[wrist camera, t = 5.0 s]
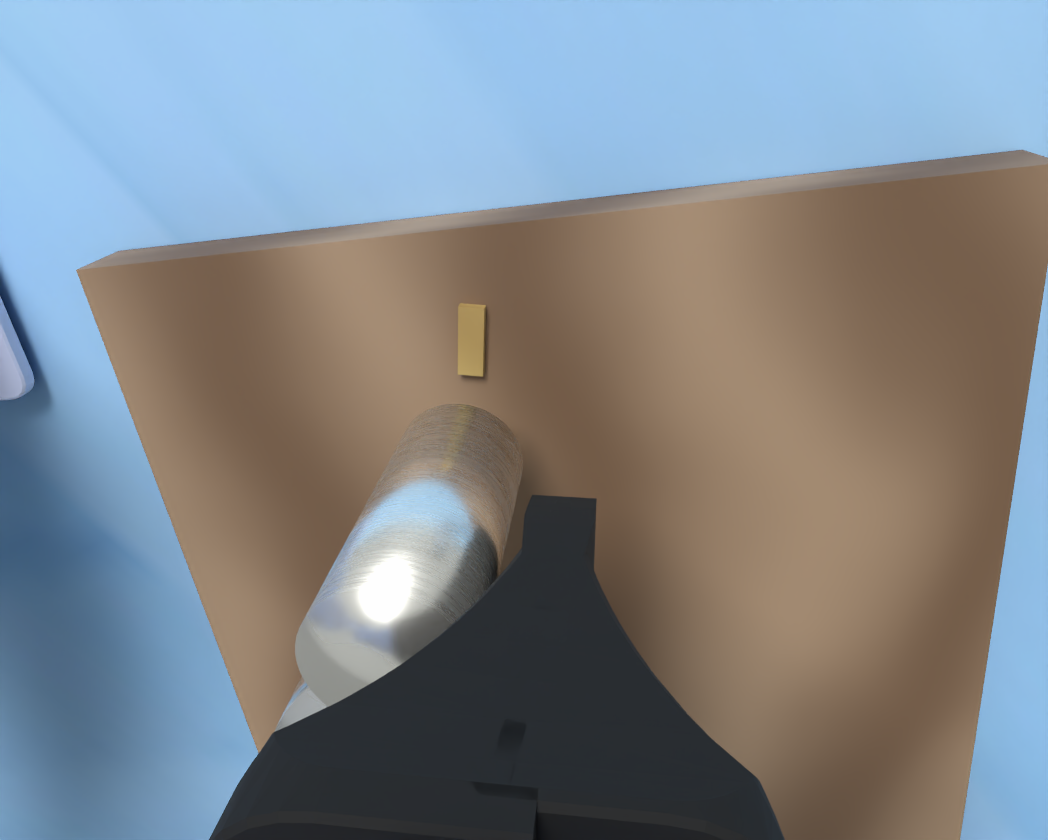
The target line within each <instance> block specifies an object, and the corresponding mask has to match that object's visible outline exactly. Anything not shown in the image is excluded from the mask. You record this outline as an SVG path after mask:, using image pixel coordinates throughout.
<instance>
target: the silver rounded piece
mask: <svg viewBox="0 0 1048 840" xmlns="http://www.w3.org/2000/svg"><path fill="white" fill-rule="evenodd" d="M522 470H523V457H522V452H521V448H520V445H519V443H518V441H517V439H516V437H515V436H514V434H513V433H512V431H511V430H510V429H509V428H508V426H507V425H506V424H505V423H504V422H502V421H501V420H500V419H499V418H497V417H496V416H495V415H493V414H491V413H489V412H488V411H486V410H483V409H481V408H478V407H475V406H471V405H465V404H445V405H440V406H436V407H434V408H431V409H429V410H427V411H425V412H423V413H422V414H420V415H419V416H417V417H416V418H415V419H414V420H413V421H412V422H411V423H410V425H409V426H408V427H407V429H406V431H405V433H404V434H403V436H402V438H401V440H400V442H399V444H398V446H397V447H396V449H395V451H394V453H393V455H392V457H391V459H390V460H389V462H388V464H387V466H386V468H385V470H384V471H383V473H382V475H381V477H380V479H379V481H378V483H377V484H376V486H375V488H374V490H373V492H372V494H371V496H370V497H369V499H368V501H367V503H366V505H365V507H364V509H363V510H362V512H361V514H360V516H359V518H358V520H357V522H356V523H355V525H354V527H353V529H352V531H351V533H350V535H349V536H348V538H347V540H346V542H345V544H344V546H343V547H342V549H341V551H340V553H339V555H338V557H337V559H336V560H335V562H334V564H333V566H332V568H331V570H330V572H329V573H328V575H327V577H326V579H325V581H324V583H323V585H322V586H321V588H320V590H319V592H318V594H317V596H316V598H315V599H314V601H313V603H312V605H311V607H310V609H309V611H308V612H307V614H306V616H305V618H304V620H303V622H302V624H301V625H300V627H299V630H298V633H297V636H296V642H295V656H296V661H297V665H298V668H299V671H300V673H301V675H302V677H301V679H300V680H299V682H298V684H297V686H296V688H295V690H294V692H293V694H292V696H291V698H290V700H289V702H288V704H287V706H286V708H285V710H284V712H283V715H282V717H281V719H280V721H279V723H278V725H277V727H276V729H275V731H277V730H280V729H282V728H284V727H287V726H289V725H291V724H293V723H295V722H297V721H299V720H301V719H303V718H306V717H308V716H310V715H312V714H314V713H316V712H318V711H320V710H322V709H324V708H326V707H329V706H331V705H333V704H335V703H337V702H339V701H340V700H342V699H344V698H346V697H348V696H350V695H352V694H353V693H355V692H357V691H359V690H360V689H362V688H364V687H365V686H367V685H369V684H371V683H372V682H374V681H376V680H377V679H379V678H381V677H382V676H384V675H385V674H387V673H388V672H390V671H392V670H393V669H395V668H396V667H398V666H399V665H401V664H402V663H404V662H405V661H406V660H408V659H409V658H410V657H412V656H413V655H414V654H416V653H417V652H418V651H420V650H421V649H422V648H423V647H425V646H426V645H427V644H428V643H430V642H431V641H432V640H434V639H435V638H436V637H437V636H439V635H440V634H441V633H442V632H443V631H445V630H446V629H447V628H448V627H449V626H450V625H451V624H452V623H454V622H455V621H456V620H457V619H458V618H459V617H460V616H461V615H462V614H463V613H464V612H466V611H467V610H468V609H469V608H470V607H471V606H472V605H473V604H474V603H475V602H476V601H477V600H478V599H479V598H480V597H481V595H482V594H483V593H484V592H485V591H486V590H487V589H488V588H489V587H490V585H491V584H492V583H493V582H494V581H495V580H496V579H497V578H498V577H499V573H500V568H501V564H502V560H503V555H504V551H505V546H506V542H507V538H508V533H509V529H510V524H511V520H512V516H513V511H514V507H515V502H516V498H517V494H518V489H519V485H520V480H521V476H522Z"/></svg>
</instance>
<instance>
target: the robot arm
mask: <svg viewBox="0 0 1048 840" xmlns="http://www.w3.org/2000/svg"><path fill="white" fill-rule="evenodd" d="M34 381H35V380H34V376H33V372H32V370H31V367H30V365H29V363H28V360H27V358H26V356H25V353H24V351H23V349H22V346H21V344H20V341H19V339H18V337H17V334H16V332H15V330H14V327H13V325H12V323H11V320H10V318H9V316H8V313H7V311H6V309H5V306H4V304H3V301H2V299H1V297H0V400H12V399H17V398H20V397H22V396H23V395H25V394H27V393H28V392H29V391H30V390H31V389H32V388H33V386H34ZM596 503H597V498H580V497H562V496H544V495H532V496H531V499H530V501H529V503H528V506H527V509H526V512H525V515H524V526H523V539H522V548H521V549H520V551H519V552H518V553H517V555H516V556H515V557H514V559H513V560H512V561H511V562H510V564H509V565H508V566H507V567H506V569H505V570H504V571H503V572H502V573H501V574H500V575H499V577H498V578H497V579H496V580H495V581H494V582H493V583H492V584H491V585H490V587H489V588H488V589H487V590H486V591H485V592H484V593H483V594H482V595H481V597H480V598H479V599H478V600H477V601H476V602H475V603H474V604H473V605H472V606H471V607H470V608H469V609H468V610H467V611H466V612H464V613H463V614H462V615H461V616H460V617H459V618H458V619H457V620H456V621H455V622H454V623H452V624H451V625H450V626H449V627H448V628H447V629H446V630H445V631H443V632H442V633H441V634H440V635H439V636H437V637H436V638H435V639H434V640H432V641H431V642H430V643H428V644H427V645H426V646H425V647H423V648H422V649H421V650H420V651H418V652H417V653H416V654H414V655H413V656H412V657H410V658H409V659H408V660H406V661H405V662H404V663H402V664H401V665H399V666H398V667H396V668H395V669H393V670H392V671H390V672H388V673H387V674H385V675H384V676H382V677H381V678H379V679H377V680H376V681H374V682H372V683H371V684H369V685H367V686H365V687H364V688H362V689H360V690H359V691H357V692H355V693H353V694H352V695H350V696H348V697H346V698H344V699H342V700H340V701H339V702H337V703H335V704H333V705H331V706H329V707H326V708H324V709H322V710H320V711H318V712H316V713H314V714H312V715H310V716H308V717H306V718H303V719H301V720H299V721H297V722H295V723H293V724H291V725H289V726H287V727H284V728H282V729H280V730H277V731H275V732H273V733H272V734H271V736H270V737H269V739H268V740H267V742H266V743H265V745H264V746H263V748H262V749H261V751H260V752H259V754H258V755H257V757H256V758H255V759H254V761H253V762H252V764H251V765H250V767H249V768H248V770H247V771H246V773H245V774H244V776H243V777H242V779H241V781H240V782H239V784H238V785H237V787H236V789H235V791H234V793H233V795H232V797H231V798H230V800H229V802H228V804H227V806H226V808H225V810H224V812H223V814H222V816H221V818H220V820H219V822H218V823H217V825H216V827H215V829H214V831H213V833H212V835H211V837H210V839H209V840H785V839H784V836H783V834H782V831H781V829H780V826H779V823H778V821H777V818H776V816H775V814H774V811H773V809H772V807H771V805H770V802H769V800H768V798H767V796H766V793H765V791H764V789H763V787H762V785H761V783H760V781H759V780H758V778H757V777H756V776H754V775H753V774H752V773H751V772H750V771H749V770H747V769H746V768H745V767H744V766H743V765H742V764H741V763H739V762H738V761H737V760H736V759H735V758H734V757H732V756H731V755H730V754H729V753H728V752H727V751H725V750H724V749H723V748H722V747H721V746H720V745H718V744H717V743H716V742H715V741H714V740H713V739H711V738H710V736H709V735H708V734H707V733H706V732H705V731H704V730H703V729H702V728H701V727H700V726H699V725H698V724H697V723H696V722H695V721H694V720H693V719H692V718H691V717H690V716H689V715H688V714H687V713H686V711H685V710H684V709H683V708H682V707H681V706H680V704H679V703H678V702H677V701H676V700H675V698H674V697H673V696H672V695H671V694H670V692H669V691H668V690H667V689H666V688H665V687H664V685H663V684H662V683H661V682H660V681H659V679H658V678H657V677H656V676H655V675H654V673H653V672H652V671H651V669H650V668H649V666H648V665H647V664H646V662H645V661H644V659H643V658H642V657H641V655H640V654H639V652H638V651H637V649H636V648H635V646H634V645H633V643H632V642H631V640H630V639H629V637H628V636H627V634H626V632H625V631H624V629H623V627H622V626H621V624H620V622H619V621H618V619H617V617H616V615H615V613H614V612H613V610H612V608H611V606H610V604H609V602H608V600H607V598H606V596H605V594H604V592H603V590H602V588H601V586H600V583H599V581H598V579H597V577H596V574H595V572H594V556H595V529H596Z"/></svg>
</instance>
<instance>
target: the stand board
mask: <svg viewBox="0 0 1048 840" xmlns="http://www.w3.org/2000/svg"><path fill="white" fill-rule="evenodd" d="M1047 266H1048V158H1047V157H1044V156H1040V155H1037V154H1034V153H1031V152H1028V151H1024V150H1017V151H1008V152H999V153H990V154H981V155H972V156H963V157H955V158H946V159H937V160H928V161H919V162H910V163H901V164H892V165H883V166H874V167H865V168H856V169H847V170H838V171H829V172H820V173H812V174H803V175H794V176H785V177H776V178H767V179H758V180H749V181H740V182H731V183H722V184H713V185H704V186H695V187H686V188H677V189H669V190H660V191H651V192H642V193H633V194H624V195H615V196H606V197H597V198H588V199H579V200H570V201H561V202H552V203H543V204H534V205H526V206H517V207H508V208H499V209H490V210H481V211H472V212H463V213H454V214H445V215H436V216H427V217H418V218H409V219H400V220H391V221H383V222H374V223H365V224H356V225H347V226H338V227H329V228H320V229H311V230H302V231H293V232H284V233H275V234H266V235H257V236H248V237H240V238H231V239H222V240H213V241H204V242H195V243H186V244H177V245H168V246H159V247H150V248H141V249H132V250H123V251H118V252H115V253H113V254H111V255H109V256H106V257H104V258H102V259H100V260H97V261H95V262H93V263H91V264H88V265H86V266H84V267H82V268H80V269H77V270H76V271H77V273H78V276H79V279H80V281H81V284H82V286H83V289H84V292H85V294H86V297H87V300H88V302H89V305H90V308H91V310H92V313H93V316H94V318H95V321H96V324H97V326H98V329H99V331H100V334H101V337H102V339H103V342H104V345H105V347H106V350H107V353H108V355H109V358H110V361H111V363H112V366H113V369H114V371H115V374H116V376H117V379H118V382H119V384H120V387H121V390H122V392H123V395H124V398H125V400H126V403H127V406H128V408H129V411H130V414H131V416H132V419H133V421H134V424H135V427H136V429H137V432H138V435H139V437H140V440H141V443H142V445H143V448H144V451H145V453H146V456H147V459H148V461H149V464H150V467H151V469H152V472H153V474H154V477H155V480H156V482H157V485H158V488H159V490H160V493H161V496H162V498H163V501H164V504H165V506H166V509H167V512H168V514H169V517H170V519H171V522H172V525H173V527H174V530H175V533H176V535H177V538H178V541H179V543H180V546H181V549H182V551H183V554H184V557H185V559H186V562H187V564H188V567H189V570H190V572H191V575H192V578H193V580H194V583H195V586H196V588H197V591H198V594H199V596H200V599H201V602H202V604H203V607H204V610H205V612H206V615H207V617H208V620H209V623H210V625H211V628H212V631H213V633H214V636H215V639H216V641H217V644H218V647H219V649H220V652H221V655H222V657H223V660H224V662H225V665H226V668H227V670H228V673H229V676H230V678H231V681H232V684H233V686H234V689H235V692H236V694H237V697H238V700H239V702H240V705H241V707H242V710H243V713H244V715H245V718H246V721H247V723H248V726H249V729H250V731H251V734H252V737H253V739H254V742H255V745H256V747H257V750H258V753H259V752H260V751H261V749H262V748H263V746H264V745H265V743H266V742H267V740H268V739H269V737H270V736H271V734H272V733H273V732H275V729H276V727H277V725H278V723H279V721H280V719H281V717H282V715H283V712H284V710H285V708H286V706H287V704H288V702H289V700H290V698H291V696H292V694H293V692H294V690H295V688H296V686H297V684H298V682H299V680H300V679H301V677H302V675H301V673H300V671H299V668H298V665H297V661H296V656H295V642H296V636H297V633H298V630H299V627H300V625H301V624H302V622H303V620H304V618H305V616H306V614H307V612H308V611H309V609H310V607H311V605H312V603H313V601H314V599H315V598H316V596H317V594H318V592H319V590H320V588H321V586H322V585H323V583H324V581H325V579H326V577H327V575H328V573H329V572H330V570H331V568H332V566H333V564H334V562H335V560H336V559H337V557H338V555H339V553H340V551H341V549H342V547H343V546H344V544H345V542H346V540H347V538H348V536H349V535H350V533H351V531H352V529H353V527H354V525H355V523H356V522H357V520H358V518H359V516H360V514H361V512H362V510H363V509H364V507H365V505H366V503H367V501H368V499H369V497H370V496H371V494H372V492H373V490H374V488H375V486H376V484H377V483H378V481H379V479H380V477H381V475H382V473H383V471H384V470H385V468H386V466H387V464H388V462H389V460H390V459H391V457H392V455H393V453H394V451H395V449H396V447H397V446H398V444H399V442H400V440H401V438H402V436H403V434H404V433H405V431H406V429H407V427H408V426H409V425H410V423H411V422H412V421H413V420H414V419H415V418H416V417H417V416H419V415H420V414H422V413H423V412H425V411H427V410H429V409H431V408H434V407H436V406H440V405H445V404H465V405H471V406H475V407H478V408H481V409H483V410H486V411H488V412H489V413H491V414H493V415H495V416H496V417H497V418H499V419H500V420H501V421H502V422H504V423H505V424H506V425H507V426H508V428H509V429H510V430H511V431H512V433H513V434H514V436H515V437H516V439H517V441H518V443H519V445H520V448H521V452H522V457H523V470H522V476H521V480H520V485H519V489H518V494H517V498H516V502H515V507H514V511H513V516H512V520H511V524H510V529H509V533H508V538H507V542H506V546H505V551H504V555H503V560H502V564H501V568H500V573H499V575H500V574H501V573H502V572H503V571H504V570H505V569H506V567H507V566H508V565H509V564H510V562H511V561H512V560H513V559H514V557H515V556H516V555H517V553H518V552H519V551H520V549H521V548H522V539H523V526H524V515H525V512H526V509H527V506H528V503H529V501H530V499H531V496H532V495H544V496H562V497H580V498H597V503H596V529H595V556H594V572H595V574H596V577H597V579H598V581H599V583H600V586H601V588H602V590H603V592H604V594H605V596H606V598H607V600H608V602H609V604H610V606H611V608H612V610H613V612H614V613H615V615H616V617H617V619H618V621H619V622H620V624H621V626H622V627H623V629H624V631H625V632H626V634H627V636H628V637H629V639H630V640H631V642H632V643H633V645H634V646H635V648H636V649H637V651H638V652H639V654H640V655H641V657H642V658H643V659H644V661H645V662H646V664H647V665H648V666H649V668H650V669H651V671H652V672H653V673H654V675H655V676H656V677H657V678H658V679H659V681H660V682H661V683H662V684H663V685H664V687H665V688H666V689H667V690H668V691H669V692H670V694H671V695H672V696H673V697H674V698H675V700H676V701H677V702H678V703H679V704H680V706H681V707H682V708H683V709H684V710H685V711H686V713H687V714H688V715H689V716H690V717H691V718H692V719H693V720H694V721H695V722H696V723H697V724H698V725H699V726H700V727H701V728H702V729H703V730H704V731H705V732H706V733H707V734H708V735H709V736H710V738H711V739H713V740H714V741H715V742H716V743H717V744H718V745H720V746H721V747H722V748H723V749H724V750H725V751H727V752H728V753H729V754H730V755H731V756H732V757H734V758H735V759H736V760H737V761H738V762H739V763H741V764H742V765H743V766H744V767H745V768H746V769H747V770H749V771H750V772H751V773H752V774H753V775H754V776H756V777H757V778H758V780H759V781H760V783H761V785H762V787H763V789H764V791H765V793H766V796H767V798H768V800H769V802H770V805H771V807H772V809H773V811H774V814H775V816H776V818H777V821H778V823H779V826H780V829H781V831H782V834H783V836H784V839H785V840H960V835H961V828H962V822H963V815H964V809H965V802H966V796H967V789H968V783H969V776H970V770H971V763H972V756H973V750H974V743H975V737H976V730H977V724H978V717H979V711H980V704H981V698H982V691H983V684H984V678H985V671H986V665H987V658H988V652H989V645H990V639H991V632H992V626H993V619H994V612H995V606H996V599H997V593H998V586H999V580H1000V573H1001V567H1002V560H1003V554H1004V547H1005V540H1006V534H1007V527H1008V521H1009V514H1010V508H1011V501H1012V495H1013V488H1014V482H1015V475H1016V468H1017V462H1018V455H1019V449H1020V442H1021V436H1022V429H1023V423H1024V416H1025V410H1026V403H1027V396H1028V390H1029V383H1030V377H1031V370H1032V364H1033V357H1034V351H1035V344H1036V338H1037V331H1038V324H1039V318H1040V311H1041V305H1042V298H1043V292H1044V285H1045V279H1046V272H1047Z"/></svg>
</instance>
